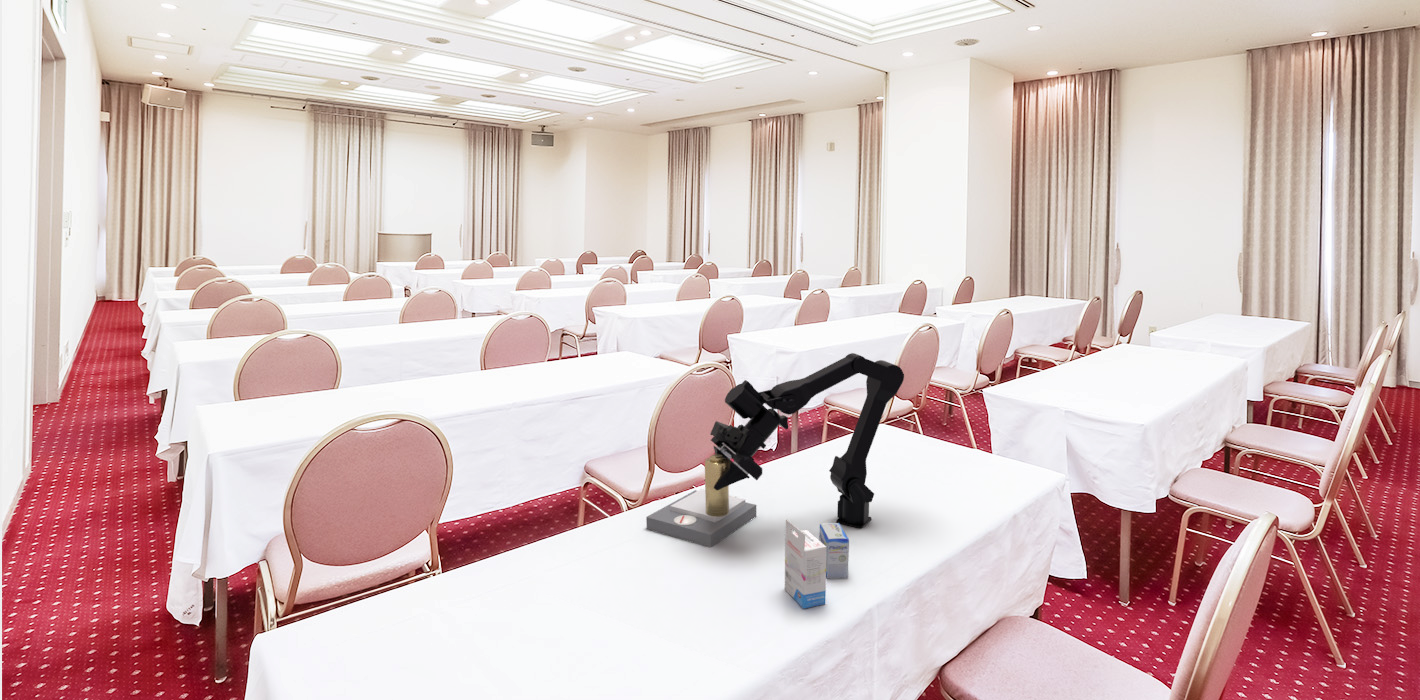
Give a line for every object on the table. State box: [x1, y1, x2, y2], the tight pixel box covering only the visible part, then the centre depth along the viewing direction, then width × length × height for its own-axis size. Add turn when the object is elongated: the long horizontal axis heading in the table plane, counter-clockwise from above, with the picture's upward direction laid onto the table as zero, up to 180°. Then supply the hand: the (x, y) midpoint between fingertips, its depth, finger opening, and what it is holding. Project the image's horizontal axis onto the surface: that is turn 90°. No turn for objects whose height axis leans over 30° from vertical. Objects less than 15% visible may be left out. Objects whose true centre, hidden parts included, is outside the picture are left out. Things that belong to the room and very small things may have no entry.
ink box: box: [784, 518, 827, 610], centre depth 142 cm, size 8×5×15 cm, turn 20°
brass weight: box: [704, 453, 730, 517], centre depth 166 cm, size 5×5×13 cm
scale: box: [645, 488, 757, 548], centre depth 177 cm, size 18×20×4 cm
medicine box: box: [818, 522, 850, 580], centre depth 153 cm, size 8×4×9 cm, turn 5°
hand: (711, 484), depth 165 cm, fingers closed on brass weight, 5 cm apart
